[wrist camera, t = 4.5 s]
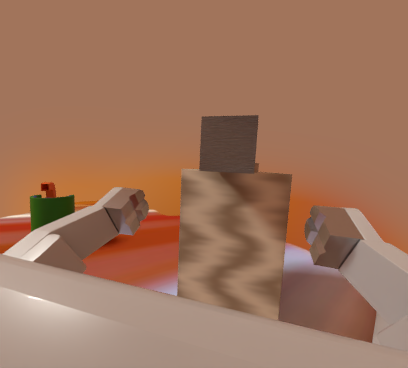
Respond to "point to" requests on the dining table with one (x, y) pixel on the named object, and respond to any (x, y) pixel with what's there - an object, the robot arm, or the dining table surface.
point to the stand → (233, 239)
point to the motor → (49, 207)
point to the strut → (228, 144)
